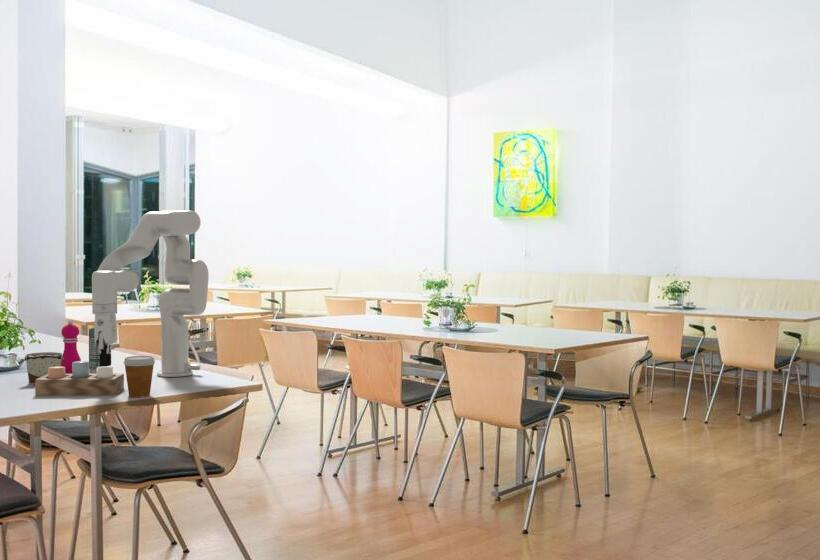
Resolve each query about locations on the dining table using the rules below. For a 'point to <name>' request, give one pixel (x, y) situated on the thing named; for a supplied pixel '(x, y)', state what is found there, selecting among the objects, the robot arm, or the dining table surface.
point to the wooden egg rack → (79, 385)
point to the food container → (41, 364)
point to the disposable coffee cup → (139, 375)
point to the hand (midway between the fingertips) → (105, 365)
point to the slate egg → (80, 369)
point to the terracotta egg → (56, 372)
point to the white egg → (104, 372)
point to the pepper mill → (70, 346)
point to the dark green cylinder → (93, 351)
